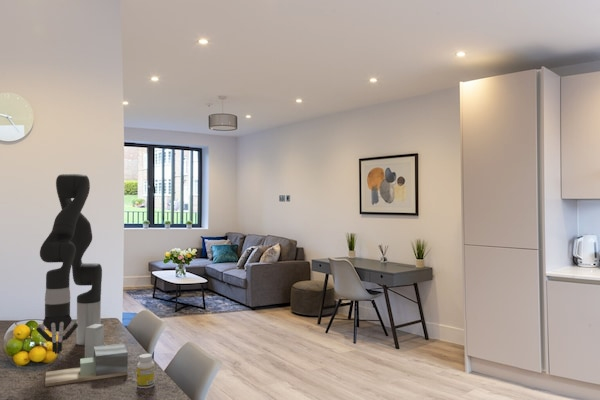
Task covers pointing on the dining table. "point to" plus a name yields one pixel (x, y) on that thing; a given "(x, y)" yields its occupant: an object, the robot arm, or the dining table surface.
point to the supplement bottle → (145, 371)
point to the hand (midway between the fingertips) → (57, 352)
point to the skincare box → (93, 338)
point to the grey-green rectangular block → (88, 366)
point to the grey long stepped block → (107, 365)
